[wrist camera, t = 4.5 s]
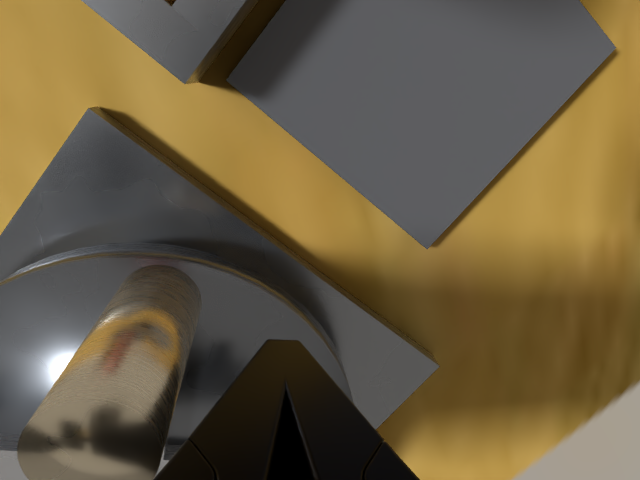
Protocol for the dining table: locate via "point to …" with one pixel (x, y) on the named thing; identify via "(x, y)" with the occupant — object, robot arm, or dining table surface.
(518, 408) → the dining table surface
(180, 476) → the robot arm
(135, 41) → the collar
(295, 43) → the mat
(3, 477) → the handwheel
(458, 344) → the dining table surface
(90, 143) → the wheel base
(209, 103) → the dining table surface
